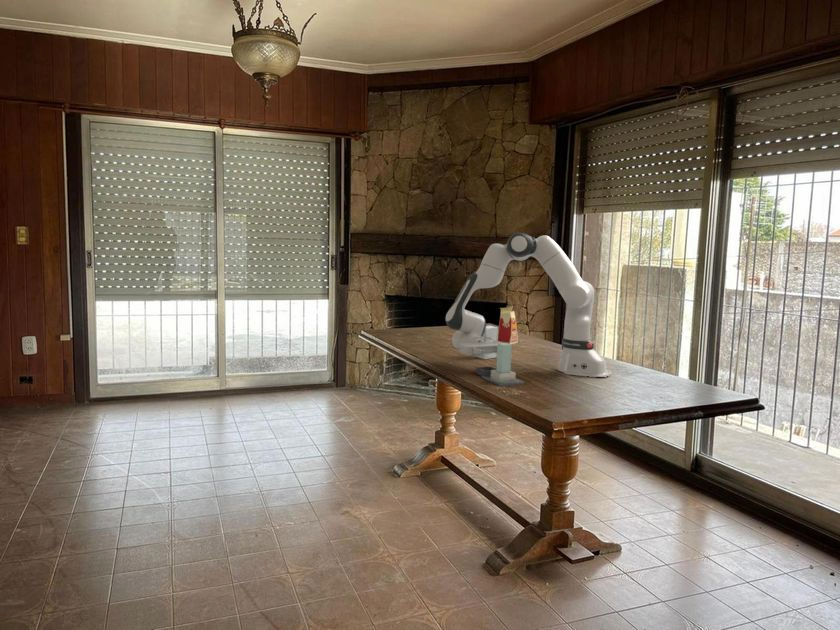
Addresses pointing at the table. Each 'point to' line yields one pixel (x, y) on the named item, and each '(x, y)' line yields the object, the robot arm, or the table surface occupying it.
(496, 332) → the skincare box
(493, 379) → the port panel
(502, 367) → the plug
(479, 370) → the holster
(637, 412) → the table surface
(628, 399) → the table surface
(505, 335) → the milk carton
